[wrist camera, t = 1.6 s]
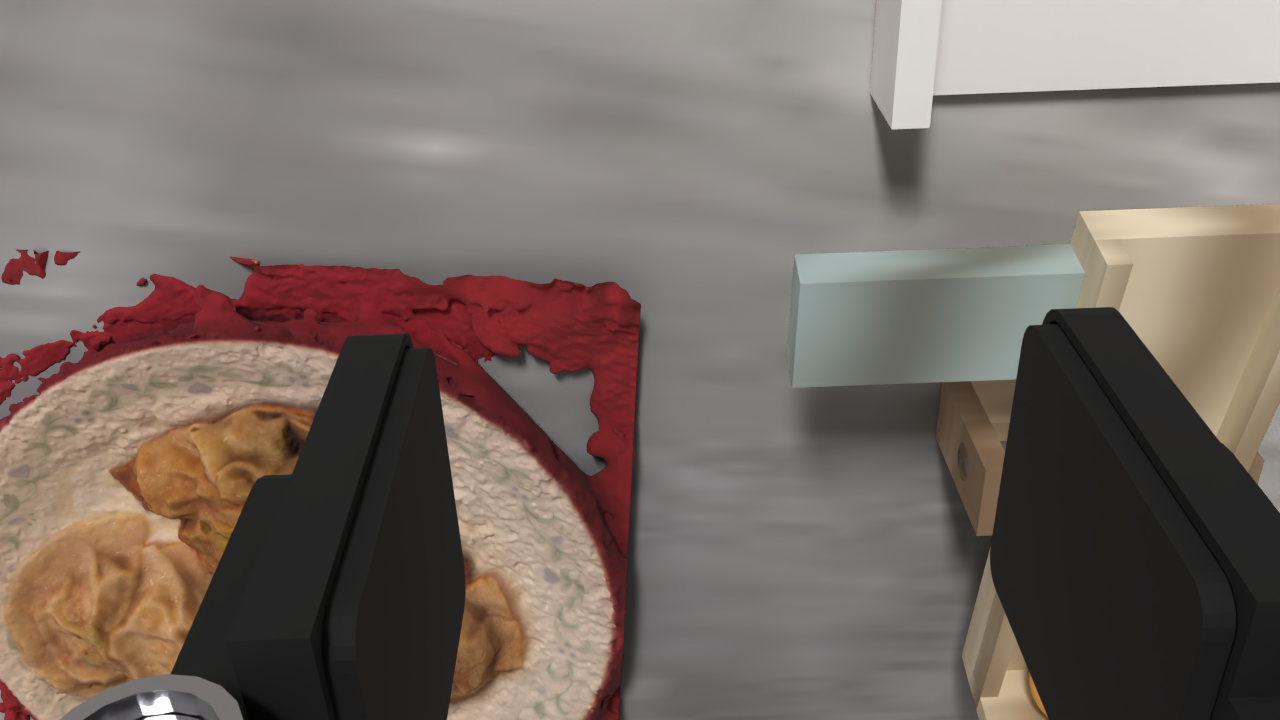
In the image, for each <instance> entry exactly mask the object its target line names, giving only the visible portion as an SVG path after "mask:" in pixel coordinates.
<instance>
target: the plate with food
mask: <svg viewBox="0 0 1280 720" xmlns="http://www.w3.org/2000/svg"><path fill="white" fill-rule="evenodd" d="M17 251H18V252H20V253H21V257H20V258H19V259H11V260H10V261H9V263H8V264H7V265H6V267H5V271H4V273H3V274H2V282H4V283H8V284H10V285H15V284H17V285H19V284H20V279H21V278H22V276H23V270H24V271H26V272H27V273H28V274H29V275H37V276H39V277H41V278H42V279H43V278H45V276H46V272H45V265H46V261H47V258H48V252H49V251H46V252H43V253H41V254H36V252H35V251H34V250H33V251H34V254H35V259H34V258H32V257H30V256H29V255H28V254H27V251H28V250H17ZM78 253H79V252H72V253H67V252H60V251H56V254H55V257H54V261H55V264H57V265H66V264H67V261H68V260H69V259H73V258H75V257H76V256H77V254H78ZM230 258H231V259H233V260H235V261H236V262H239V263H242V264H244V265H248V266H250V267H252V268H253V273H252V274H251V275H250V276H249V277H248V279H247V281H246V283H245V289H244V292H243V294H242V296H241V298H240V299H239V300H235V299H230V298H229V297H228V296H226V295H224V294H222V293H219V292H215V291H212V290H209V289H207V288H206V287H204V286H203V285H199V286H198V287H197V288H194V287H192V286H190V285H188V284H186V283H184V282H182V281H180V280H178V279H176V278H173V277H167V276H160V275H157V274H153V275H151V276H150V279H151V281H152V282H153V283H154V285H155V290H154V291H153V292H152V293H151V294H150V295H149V296H148V297H147V298H146V299H145V300H143V301H142V302H140V303H139V304H138V305H136V306H132V307H116V308H112V309H109V310H107V311H106V312H105V313H103V315H101V316H100V317H99V318H98V319H97V322H98V323H99V322H100V321H102V320H103V322H104V326H103V329H104V332H98V331H95V332H93V331H91V332H88V331H87V332H86V333H82V332H79V331H75V330H72V331H71V333H70V335H71V337H72V340H73V343H71V342H68V341H64V340H60V341H57V342H54V343H51V344H50V343H48V344H45V345H40V346H37V347H35V348H33V349H31V350H29V351H24V352H23V353H22V354H23V355H24V356H26V358H25V359H22V360H21V359H20V357H19V356H18V355H16V354H9V355H7V357H6V358H1V357H0V367H1V368H2V369H0V404H1V403H2V402H3V401H4V400H6V397H10V396H11V390H12V389H13V388H14V387H15V384H14V383H12V380H15V383H19V382H21V381H22V380H23V381H24V382H26V381H27V380H28V379H29V378H28V376H27V375H31V376H37V375H39V373H40V372H43V371H44V370H46V369H47V368H48V367H49V366H52V365H54V364H55V363H57V362H60V361H61V360H63V359H65V357H66V355H67V354H68V353H69V352H70V347H73V346H75V347H77V346H76V344H75V342H77V341H79V340H81V341H82V342H83V343H84V345H85V347H86V348H87V349H88V351H87V352H84V356H83V358H82V360H80V361H79V362H78V363H70V362H65V363H63V364H62V365H61V367H60V372H59V373H58V374H53V375H52V376H51V377H50V378H47V379H44V378H38V380H40V381H42V384H41V385H40V386H39V388H38V389H37V392H39V393H40V395H33V396H30V397H29V398H24V399H23V401H24V402H20V403H18V404H11V405H10V407H9V410H10V411H11V414H10V416H7V417H4V418H3V419H1V420H0V689H1V698H2V700H3V703H0V712H2V713H5V718H4V720H30V716H31V717H32V718H33V719H34V720H60V719H61V718H62V717H63V716H65V715H66V714H67V713H68V712H69V711H70V710H71V709H73V708H74V707H76V706H78V705H80V704H81V703H83V702H85V701H86V700H88V699H90V698H92V697H93V696H95V695H97V694H99V693H100V692H102V691H104V690H107V689H110V688H112V687H115V686H118V685H121V684H124V683H126V682H129V681H132V680H135V679H139V678H146V677H153V676H159V675H166V674H171V671H172V669H173V667H174V665H175V662H176V660H177V658H178V655H179V653H180V651H181V649H182V646H183V644H184V642H185V639H186V637H187V635H188V632H189V630H190V628H191V626H192V623H193V621H194V619H195V616H196V614H197V612H198V610H199V607H200V605H201V603H202V600H203V598H204V596H205V594H206V591H207V589H208V587H209V584H210V582H211V580H212V578H213V575H214V573H215V571H216V568H217V566H218V564H219V561H220V559H221V557H222V555H223V552H224V550H225V548H226V545H227V543H228V541H229V539H230V536H231V534H232V532H233V529H234V527H235V525H236V523H237V520H238V518H239V516H240V513H241V511H242V509H243V507H244V504H245V502H246V500H247V497H248V495H249V493H250V490H251V489H252V487H253V485H254V484H255V482H256V481H257V479H258V478H260V477H262V476H264V475H286V474H292V473H293V470H294V468H295V465H296V463H297V460H298V458H299V455H300V453H301V450H302V448H303V445H304V442H305V440H306V437H307V435H308V432H309V430H310V427H311V425H312V422H313V420H314V417H315V415H316V412H317V409H318V407H319V404H320V402H321V399H322V397H323V394H324V392H325V389H326V387H327V384H328V382H329V379H330V377H331V374H332V371H333V369H334V366H335V364H336V361H337V359H338V356H339V354H340V351H341V349H342V346H343V344H344V341H345V340H346V338H347V336H351V335H378V334H404V333H408V334H409V336H410V337H411V340H412V343H413V346H414V348H431V349H432V350H433V353H434V356H435V362H436V368H437V375H438V382H439V389H440V396H441V403H442V410H443V418H444V425H445V432H446V439H447V446H448V453H449V460H450V467H451V474H452V482H453V489H454V496H455V503H456V510H457V517H458V524H459V531H460V538H461V545H462V553H463V560H464V567H465V580H466V595H465V608H464V614H463V621H462V627H461V634H460V640H459V646H458V653H457V659H456V665H455V672H454V678H453V684H452V691H451V697H450V704H449V710H448V716H447V720H619V699H620V685H621V674H622V657H623V639H624V621H625V602H626V582H627V555H628V536H629V516H630V498H631V478H632V460H633V438H634V416H635V397H636V379H637V360H638V342H639V325H640V308H641V304H640V303H638V302H637V301H635V300H633V299H631V298H630V296H629V294H628V292H627V291H626V290H624V289H622V288H621V287H620V286H619V285H618V284H616V283H614V282H605V283H599V284H596V285H594V286H592V287H587V286H584V285H583V284H578V283H574V282H568V281H562V280H558V279H553V282H551V283H549V284H535V283H531V282H527V281H521V280H515V279H511V278H507V277H504V276H487V277H484V276H472V275H465V276H460V277H452V278H447V279H446V280H445V281H444V285H436V286H433V285H427V284H425V283H423V282H422V281H420V280H419V279H418V278H415V277H410V276H407V275H404V274H403V273H401V271H400V270H399V269H391V270H389V269H376V268H371V269H364V268H360V267H356V268H352V267H347V266H305V265H275V266H259V265H260V262H259V261H258V260H254V259H244V258H235V257H230ZM35 260H36V264H35ZM146 282H147V279H144V278H142V279H140V281H139V282H138V283H137V286H141V285H145V283H146ZM116 322H117V323H116ZM93 328H95V329H96V328H97V327H96V325H93ZM519 344H523V345H525V346H527V351H528V352H529V354H531V355H532V356H535V357H538V358H542V359H545V360H546V361H548V362H549V363H550V372H551V373H553V374H556V373H559V372H562V371H565V370H566V371H569V372H574V371H576V370H581V369H583V368H585V367H588V368H590V369H591V370H592V372H593V375H594V389H593V392H592V395H591V398H590V406H591V411H592V413H593V414H594V415H596V417H597V419H598V424H599V431H597V432H596V433H594V434H592V435H591V437H590V438H589V440H588V443H587V452H588V453H589V454H590V455H593V456H598V457H601V458H604V459H605V461H606V462H607V466H606V467H605V468H604V469H603V470H601V471H600V472H598V473H597V474H595V475H593V476H589V475H586V474H585V473H583V472H582V471H581V470H579V468H578V467H577V466H576V465H575V463H574V462H573V461H572V460H571V459H570V458H569V457H568V456H567V455H566V454H565V453H564V452H563V451H562V450H561V449H559V448H558V447H557V446H556V445H555V444H554V443H553V442H552V441H551V440H550V439H549V437H548V436H547V434H546V433H545V432H544V431H543V430H542V429H541V428H540V427H539V426H538V425H537V424H536V423H535V422H534V421H533V420H532V419H531V418H530V417H529V415H528V414H527V413H526V412H525V411H524V410H523V409H522V408H521V407H520V406H519V405H518V404H517V403H516V402H515V401H514V400H513V399H512V398H511V397H510V396H509V395H508V394H507V393H506V391H505V390H504V389H503V388H502V387H500V386H499V384H498V383H497V382H496V381H495V380H494V379H493V378H492V377H491V376H490V375H488V374H487V373H486V372H485V370H483V368H482V367H481V366H480V365H479V364H478V359H481V358H482V357H485V359H484V362H485V361H487V360H489V361H491V357H493V356H494V355H498V354H501V355H506V356H508V357H512V358H513V357H517V356H519V355H520V353H521V352H520V349H519V347H518V345H519ZM15 361H17V362H19V363H20V365H21V367H22V368H21V371H18V367H15V366H14V365H13V363H14V362H15ZM21 378H23V379H21ZM8 380H9V381H8Z"/></svg>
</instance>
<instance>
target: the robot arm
mask: <svg viewBox="0 0 1280 720" xmlns="http://www.w3.org/2000/svg"><path fill="white" fill-rule="evenodd" d="M990 567H991V575H992V580H993V584H994V587H995V590H996V592H997V594H998V597H999V599H1000V602H1001V604H1002V607H1003V609H1004V612H1005V614H1006V616H1007V619H1008V621H1009V624H1010V626H1011V629H1012V631H1013V633H1014V636H1015V638H1016V641H1017V643H1018V646H1019V648H1020V651H1021V653H1022V655H1023V658H1024V660H1025V663H1026V665H1027V668H1028V670H1029V672H1030V675H1031V677H1032V680H1033V682H1034V685H1035V687H1036V690H1037V692H1038V694H1039V697H1040V699H1041V702H1042V704H1043V707H1044V709H1045V711H1046V714H1047V716H1048V719H1049V720H1280V513H1279V512H1278V510H1277V509H1276V508H1275V507H1274V505H1273V504H1272V503H1271V501H1270V500H1269V499H1268V498H1267V496H1266V495H1265V494H1264V492H1263V491H1262V490H1261V489H1260V487H1259V486H1258V485H1257V483H1256V482H1255V481H1254V480H1253V478H1252V477H1251V476H1250V474H1249V473H1248V472H1247V471H1246V469H1245V468H1244V467H1243V465H1242V464H1241V463H1240V462H1239V460H1238V459H1237V458H1236V456H1235V455H1234V454H1233V453H1232V452H1231V451H1230V450H1229V449H1228V448H1227V447H1226V446H1225V445H1224V444H1223V443H1221V442H1220V441H1219V440H1218V439H1217V437H1216V436H1215V435H1214V434H1213V432H1212V431H1211V430H1210V428H1209V427H1208V426H1207V424H1206V423H1205V422H1204V421H1203V419H1202V418H1201V417H1200V415H1199V414H1198V413H1197V412H1196V410H1195V409H1194V408H1193V406H1192V405H1191V404H1190V403H1189V401H1188V400H1187V399H1186V397H1185V396H1184V395H1183V393H1182V392H1181V391H1180V390H1179V388H1178V387H1177V386H1176V384H1175V383H1174V382H1173V381H1172V379H1171V378H1170V377H1169V375H1168V374H1167V373H1166V372H1165V370H1164V369H1163V368H1162V366H1161V365H1160V364H1159V362H1158V361H1157V360H1156V359H1155V357H1154V356H1153V355H1152V353H1151V352H1150V351H1149V350H1148V348H1147V347H1146V346H1145V344H1144V343H1143V342H1142V341H1141V339H1140V338H1139V337H1138V335H1137V334H1136V333H1135V331H1134V330H1133V329H1132V328H1131V326H1130V325H1129V324H1128V322H1127V321H1126V320H1125V319H1124V317H1123V316H1122V315H1121V313H1120V312H1119V311H1118V310H1116V309H1115V308H1114V307H1097V308H1070V309H1051V310H1050V311H1049V312H1048V313H1047V314H1046V316H1045V318H1044V320H1043V323H1042V325H1030V326H1028V327H1027V328H1026V330H1025V333H1024V336H1023V340H1022V345H1021V352H1020V358H1019V365H1018V371H1017V378H1016V384H1015V391H1014V397H1013V404H1012V410H1011V417H1010V423H1009V430H1008V436H1007V443H1006V449H1005V456H1004V462H1003V469H1002V475H1001V482H1000V488H999V495H998V501H997V508H996V514H995V521H994V527H993V534H992V540H991V548H990ZM465 595H466V580H465V567H464V560H463V553H462V545H461V538H460V531H459V524H458V517H457V510H456V503H455V496H454V489H453V482H452V474H451V467H450V460H449V453H448V446H447V439H446V432H445V425H444V418H443V410H442V403H441V396H440V389H439V382H438V375H437V368H436V362H435V356H434V353H433V350H432V349H431V348H414V346H413V343H412V340H411V337H410V336H409V334H408V333H404V334H378V335H351V336H347V338H346V340H345V341H344V344H343V346H342V349H341V351H340V354H339V356H338V359H337V361H336V364H335V366H334V369H333V371H332V374H331V377H330V379H329V382H328V384H327V387H326V389H325V392H324V394H323V397H322V399H321V402H320V404H319V407H318V409H317V412H316V415H315V417H314V420H313V422H312V425H311V427H310V430H309V432H308V435H307V437H306V440H305V442H304V445H303V448H302V450H301V453H300V455H299V458H298V460H297V463H296V465H295V468H294V470H293V473H292V474H286V475H264V476H262V477H260V478H258V479H257V481H256V482H255V484H254V485H253V487H252V489H251V490H250V493H249V495H248V497H247V500H246V502H245V504H244V507H243V509H242V511H241V513H240V516H239V518H238V520H237V523H236V525H235V527H234V529H233V532H232V534H231V536H230V539H229V541H228V543H227V545H226V548H225V550H224V552H223V555H222V557H221V559H220V561H219V564H218V566H217V568H216V571H215V573H214V575H213V578H212V580H211V582H210V584H209V587H208V589H207V591H206V594H205V596H204V598H203V600H202V603H201V605H200V607H199V610H198V612H197V614H196V616H195V619H194V621H193V623H192V626H191V628H190V630H189V632H188V635H187V637H186V639H185V642H184V644H183V646H182V649H181V651H180V653H179V655H178V658H177V660H176V662H175V665H174V667H173V669H172V671H171V674H166V675H159V676H153V677H146V678H139V679H135V680H132V681H129V682H126V683H124V684H121V685H118V686H115V687H112V688H110V689H107V690H104V691H102V692H100V693H99V694H97V695H95V696H93V697H92V698H90V699H88V700H86V701H85V702H83V703H81V704H80V705H78V706H76V707H74V708H73V709H71V710H70V711H69V712H68V713H67V714H66V715H65V716H63V717H62V718H61V719H60V720H447V716H448V710H449V704H450V697H451V691H452V684H453V678H454V672H455V665H456V659H457V653H458V646H459V640H460V634H461V627H462V621H463V614H464V608H465Z"/></svg>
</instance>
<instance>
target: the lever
mask: <svg viewBox="0 0 1280 720" xmlns="http://www.w3.org/2000/svg"><path fill="white" fill-rule="evenodd" d="M1097 307H1114V308H1115V309H1116V310H1118V311H1119V312H1120V313H1121V315H1122V316H1123V317H1124V319H1125V320H1126V321H1127V322H1128V324H1129V325H1130V326H1131V328H1132V329H1133V330H1134V331H1135V333H1136V334H1137V335H1138V337H1139V338H1140V339H1141V341H1142V342H1143V343H1144V344H1145V346H1146V347H1147V348H1148V350H1149V351H1150V352H1151V353H1152V355H1153V356H1154V357H1155V359H1156V360H1157V361H1158V362H1159V364H1160V365H1161V366H1162V368H1163V369H1164V370H1165V372H1166V373H1167V374H1168V375H1169V377H1170V378H1171V379H1172V381H1173V382H1174V383H1175V384H1176V386H1177V387H1178V388H1179V390H1180V391H1181V392H1182V393H1183V395H1184V396H1185V397H1186V399H1187V400H1188V401H1189V403H1190V404H1191V405H1192V406H1193V408H1194V409H1195V410H1196V412H1197V413H1198V414H1199V415H1200V417H1201V418H1202V419H1203V421H1204V422H1205V423H1206V424H1207V426H1208V427H1209V428H1210V430H1211V431H1212V432H1213V434H1214V435H1215V436H1216V437H1217V439H1218V440H1219V441H1220V442H1221V443H1223V444H1224V445H1225V446H1226V447H1227V448H1228V449H1229V450H1230V451H1231V452H1232V453H1233V454H1234V455H1235V456H1236V458H1237V459H1238V460H1239V462H1240V463H1241V464H1242V465H1243V467H1244V468H1245V469H1246V471H1247V472H1248V470H1249V468H1250V466H1251V464H1252V462H1253V459H1254V457H1255V455H1256V453H1257V451H1258V449H1259V446H1260V444H1261V442H1262V440H1263V438H1264V435H1265V433H1266V431H1267V429H1268V427H1269V425H1270V422H1271V420H1272V418H1273V416H1274V414H1275V412H1276V409H1277V407H1278V405H1279V403H1280V204H1262V205H1236V206H1210V207H1183V208H1157V209H1130V210H1104V211H1079V214H1078V218H1077V222H1076V225H1075V229H1074V233H1073V237H1072V241H1071V244H1062V245H1036V246H1009V247H983V248H956V249H930V250H903V251H877V252H851V253H824V254H798V255H794V267H793V280H792V294H791V308H790V321H789V335H788V349H787V362H788V367H789V373H790V378H791V384H792V388H801V387H828V386H854V385H881V384H907V383H933V382H960V381H986V380H1013V379H1016V378H1017V371H1018V365H1019V358H1020V352H1021V345H1022V340H1023V336H1024V333H1025V330H1026V328H1027V327H1028V326H1030V325H1042V323H1043V320H1044V318H1045V316H1046V314H1047V313H1048V312H1049V311H1050V310H1051V309H1070V308H1097ZM990 548H991V547H990ZM962 659H963V662H964V666H965V670H966V674H967V677H968V681H969V685H970V689H971V692H972V696H973V700H974V703H975V707H976V711H977V715H978V718H979V720H1049V719H1048V717H1047V716H1046V715H1045V714H1044V713H1043V712H1042V711H1041V710H1040V708H1039V707H1038V706H1037V704H1036V702H1035V700H1034V698H1033V696H1032V693H1031V689H1030V685H1029V670H1028V668H1027V665H1026V663H1025V660H1024V658H1023V655H1022V653H1021V651H1020V648H1019V646H1018V643H1017V641H1016V638H1015V636H1014V633H1013V631H1012V629H1011V626H1010V624H1009V621H1008V619H1007V616H1006V614H1005V612H1004V609H1003V607H1002V604H1001V602H1000V599H999V597H998V594H997V592H996V590H995V587H994V584H993V580H992V575H991V567H990V550H989V554H988V558H987V562H986V566H985V569H984V573H983V577H982V581H981V584H980V588H979V592H978V596H977V600H976V603H975V607H974V611H973V615H972V618H971V622H970V626H969V630H968V634H967V637H966V641H965V645H964V649H963V652H962Z"/></svg>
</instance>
